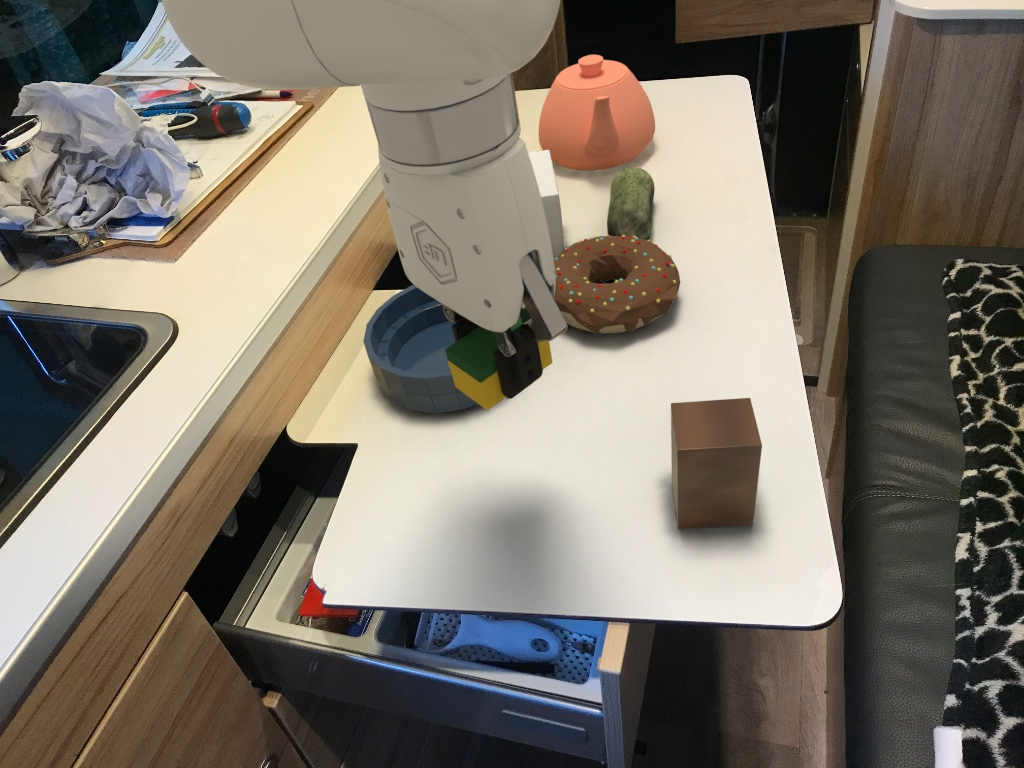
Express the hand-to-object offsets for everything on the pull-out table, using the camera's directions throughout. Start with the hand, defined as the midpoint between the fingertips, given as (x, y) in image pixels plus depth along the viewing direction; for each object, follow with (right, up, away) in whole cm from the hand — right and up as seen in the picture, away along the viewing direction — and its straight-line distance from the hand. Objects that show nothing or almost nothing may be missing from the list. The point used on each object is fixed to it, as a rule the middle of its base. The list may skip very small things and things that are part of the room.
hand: (502, 370), depth 51 cm
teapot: (+12, +30, +50) cm, 60 cm away
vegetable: (+15, +17, +36) cm, 42 cm away
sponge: (0, 0, 0) cm, 0 cm away
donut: (+11, +7, +26) cm, 29 cm away
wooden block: (+16, -10, +6) cm, 20 cm away
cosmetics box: (+4, +14, +35) cm, 37 cm away
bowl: (-5, +1, +23) cm, 24 cm away
